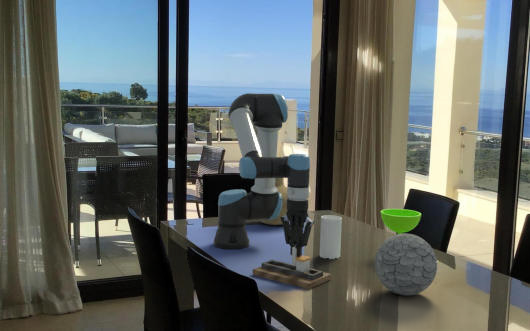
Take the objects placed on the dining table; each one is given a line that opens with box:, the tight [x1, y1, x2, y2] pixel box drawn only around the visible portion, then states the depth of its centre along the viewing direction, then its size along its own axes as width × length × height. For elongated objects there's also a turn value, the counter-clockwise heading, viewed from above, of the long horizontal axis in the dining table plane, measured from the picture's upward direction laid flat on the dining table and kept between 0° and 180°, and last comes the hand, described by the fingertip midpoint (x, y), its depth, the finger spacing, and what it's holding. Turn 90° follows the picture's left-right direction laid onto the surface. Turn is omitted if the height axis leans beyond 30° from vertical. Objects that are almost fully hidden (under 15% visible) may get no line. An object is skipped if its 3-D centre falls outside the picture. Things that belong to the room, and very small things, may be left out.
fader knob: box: [295, 254, 312, 274], centre depth 203 cm, size 3×5×6 cm
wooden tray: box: [252, 259, 332, 290], centre depth 206 cm, size 24×14×4 cm, turn 53°
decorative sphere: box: [374, 232, 438, 296], centre depth 190 cm, size 20×20×20 cm
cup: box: [319, 214, 343, 260], centre depth 234 cm, size 8×8×16 cm
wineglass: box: [380, 208, 422, 235], centre depth 236 cm, size 16×16×18 cm
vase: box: [259, 178, 289, 226], centre depth 290 cm, size 22×22×30 cm
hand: (295, 264), depth 205 cm, fingers closed
